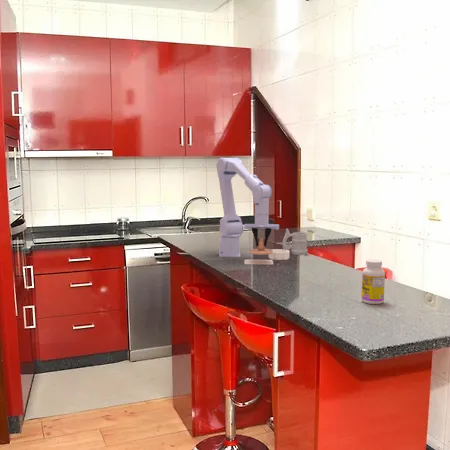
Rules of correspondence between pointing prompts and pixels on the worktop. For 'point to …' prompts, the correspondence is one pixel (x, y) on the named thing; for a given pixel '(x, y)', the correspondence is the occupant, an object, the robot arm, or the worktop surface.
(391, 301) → the worktop surface
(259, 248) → the lid
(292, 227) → the worktop surface
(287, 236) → the mug
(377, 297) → the supplement bottle
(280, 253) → the bowl
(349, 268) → the worktop surface
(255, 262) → the mat
